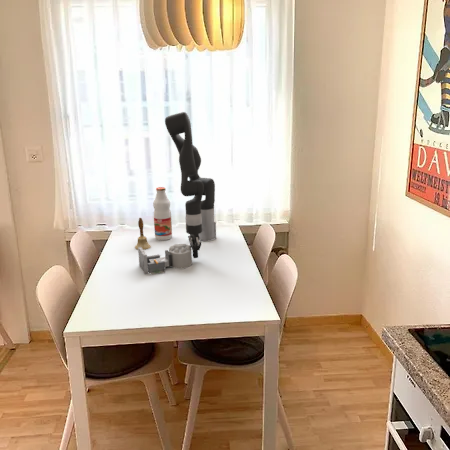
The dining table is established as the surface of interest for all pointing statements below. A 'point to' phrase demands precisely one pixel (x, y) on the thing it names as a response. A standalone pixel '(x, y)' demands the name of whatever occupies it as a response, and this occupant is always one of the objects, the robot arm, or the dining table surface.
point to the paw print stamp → (181, 256)
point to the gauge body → (150, 267)
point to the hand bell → (142, 237)
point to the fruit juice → (162, 215)
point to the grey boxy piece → (163, 259)
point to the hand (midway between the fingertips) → (195, 257)
